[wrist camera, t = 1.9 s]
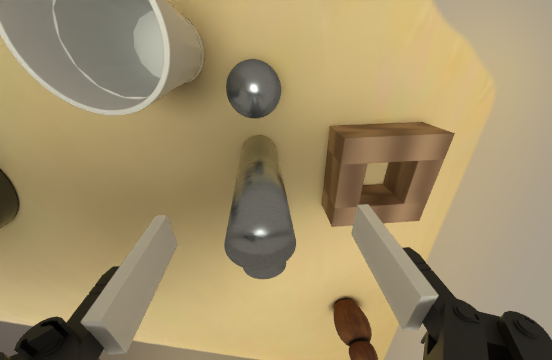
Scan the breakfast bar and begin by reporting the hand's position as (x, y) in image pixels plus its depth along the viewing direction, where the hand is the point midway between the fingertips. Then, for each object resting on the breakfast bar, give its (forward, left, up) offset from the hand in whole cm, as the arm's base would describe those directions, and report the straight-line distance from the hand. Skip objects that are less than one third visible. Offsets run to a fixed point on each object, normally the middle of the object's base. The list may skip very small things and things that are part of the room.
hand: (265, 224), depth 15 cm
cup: (-8, +11, -14) cm, 20 cm away
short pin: (0, +8, -14) cm, 16 cm away
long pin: (0, 0, -14) cm, 14 cm away
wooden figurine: (+16, -36, -14) cm, 42 cm away
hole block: (+15, -3, -14) cm, 20 cm away
